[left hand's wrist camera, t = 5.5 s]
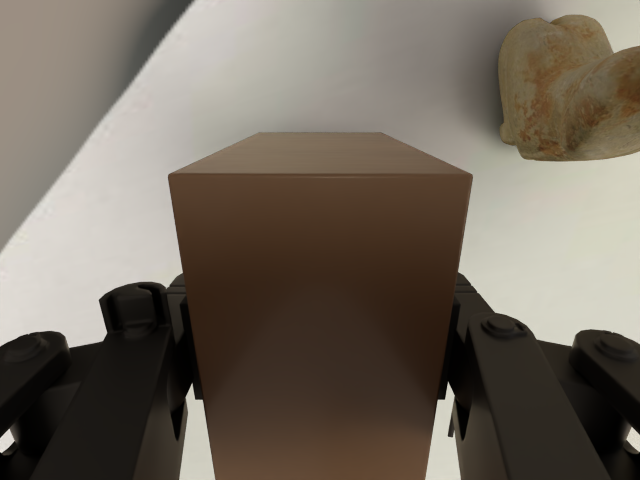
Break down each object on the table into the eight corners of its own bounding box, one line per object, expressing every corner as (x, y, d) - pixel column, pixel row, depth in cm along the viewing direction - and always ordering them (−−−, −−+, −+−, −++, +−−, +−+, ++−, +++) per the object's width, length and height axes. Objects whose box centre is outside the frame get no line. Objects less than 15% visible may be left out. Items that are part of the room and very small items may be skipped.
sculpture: (587, 17, 20) (1257, -197, 6) (566, 148, 22) (989, 221, 8) (483, 27, 20) (893, -162, 6) (474, 156, 22) (740, 241, 8)
